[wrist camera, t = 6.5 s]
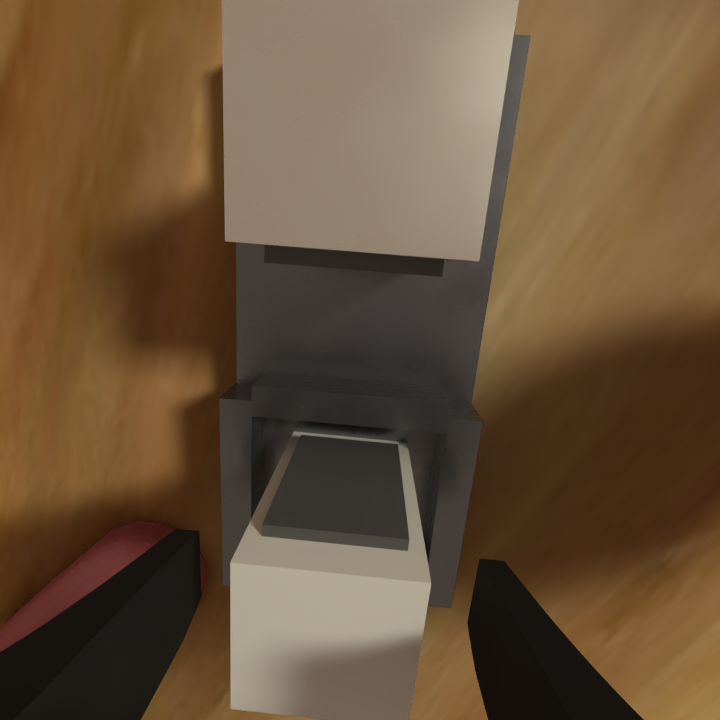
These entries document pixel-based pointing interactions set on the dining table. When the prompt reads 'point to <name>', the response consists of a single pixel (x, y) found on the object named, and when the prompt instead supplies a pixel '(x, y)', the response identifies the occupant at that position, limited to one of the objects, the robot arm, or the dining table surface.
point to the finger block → (331, 585)
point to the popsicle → (86, 576)
